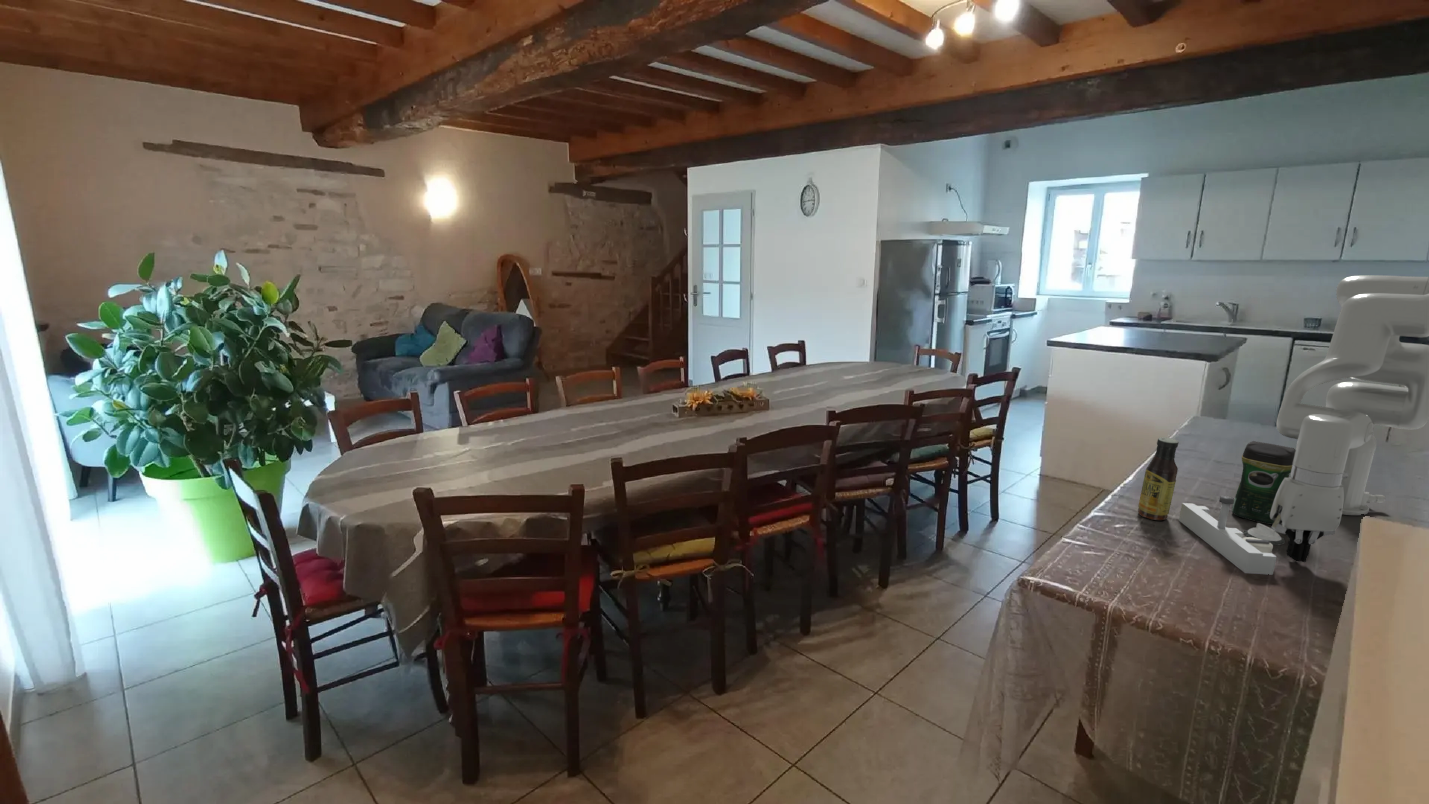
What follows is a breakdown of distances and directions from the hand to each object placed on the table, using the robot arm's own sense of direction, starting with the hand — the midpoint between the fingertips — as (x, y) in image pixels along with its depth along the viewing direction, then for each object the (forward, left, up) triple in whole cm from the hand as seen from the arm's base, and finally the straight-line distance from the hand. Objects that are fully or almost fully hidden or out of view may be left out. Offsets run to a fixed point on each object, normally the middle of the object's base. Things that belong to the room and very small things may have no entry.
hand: (1296, 558), depth 132 cm
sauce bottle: (+18, -20, -1) cm, 27 cm away
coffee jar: (-6, -23, -1) cm, 24 cm away
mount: (+10, -6, -1) cm, 12 cm away
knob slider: (+8, 0, -1) cm, 8 cm away
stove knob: (-1, -12, -2) cm, 12 cm away
